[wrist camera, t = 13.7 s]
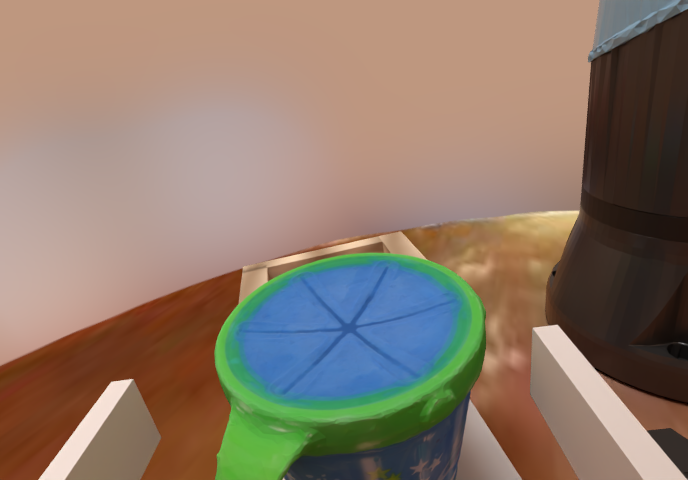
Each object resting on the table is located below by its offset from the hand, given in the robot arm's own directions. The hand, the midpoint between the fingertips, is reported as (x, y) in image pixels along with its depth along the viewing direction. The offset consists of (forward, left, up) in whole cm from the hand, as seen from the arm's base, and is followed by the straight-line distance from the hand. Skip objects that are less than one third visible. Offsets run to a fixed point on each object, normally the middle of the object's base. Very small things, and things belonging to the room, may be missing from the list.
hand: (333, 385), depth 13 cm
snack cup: (-1, -3, -10) cm, 10 cm away
